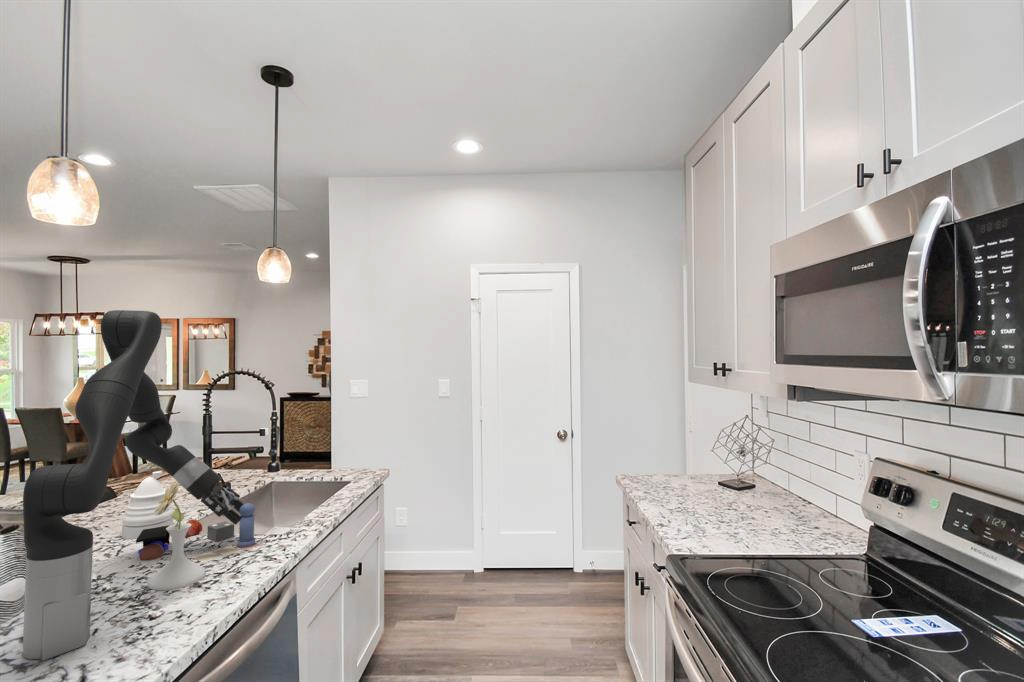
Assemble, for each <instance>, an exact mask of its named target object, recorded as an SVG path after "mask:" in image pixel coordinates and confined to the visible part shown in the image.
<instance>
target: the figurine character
mask: <svg viewBox="0 0 1024 682" xmlns="http://www.w3.org/2000/svg"><path fill="white" fill-rule="evenodd" d="M167 527H169V525H168V526H162V527H156V528H150V529H144V530H142V532H141V533H140V535H139V536H138V538H137V539H135V544H136V543H138V544H139V543H142V548H140V549H138V551H137V553H139V554H138V555H139V559H140V561H142V562H143V561H145V562H146V561H152V560H156V559H159V558H161V557H162V556H163V555H164V552H165V551H166V550H167V549H169V547H170V545H169V544H170V538H171V535H170V533H169V532H168V531H167V530H166V528H167Z"/></svg>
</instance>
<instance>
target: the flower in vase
mask: <svg viewBox="0 0 1024 682" xmlns="http://www.w3.org/2000/svg"><path fill="white" fill-rule="evenodd" d="M179 487H180V484H179V483H178V481H176V482H174V481H173V482H172V483H171V484H170V486H169V487H167V488H165V489H166V490H165V494H164V497H163V498H161V499H160V500H159V502H158V503H161V504H160V505H159V506H158V507H157V509H156V510H155V512H157V511H158V512H157V514H156V516H157V515H158V514H159V515H160V514H162V513H163V512H165V511H166V509H167V508H168V507H169V505H170V504H171V503H173V504H174V506H175V507H176V508H175V510H173V514H172V518H173V520H175V521H176V523H175V524H173V525H171V526H169V527H167V528H166V530H167V531H168V532H169V533H170V538H171V543H172V550H171V551H172V554H171V557H170V560H169V561H168V562H166V564H165V565H163V566H162V567H161V568H159V569H158V570H157V571H156V572H155V573H154V574H153V575H152V576H151V577H150V579H149V580H148V582H147V588H148V589H150V590H153V591H159V592H160V591H161V592H162V591H170V590H172V591H173V590H177V589H180V588H186V587H188V586H191V585H194V584H196V583H198V582H199V581H201V580H202V579H204V578H205V577H206V574H207V572H206V570H205V568H204V567H203V566H202V565H200V564H198V563H197V562H195V561H192V560H190V559H188V558H187V557H186V555H185V550H184V549H185V541H186V540H185V539H186V538H185V536H186V533H187V531H188V529H189V528H190V527H191V524H190V523H186V522H184V523H183V520H184V519H185V516H184V514H183V513H182V512H181V510H180V508H179V505H178V504H177V502H176V501H175V497H176V495H177V493H178V491H179ZM171 505H172V504H171ZM181 522H182V523H181Z"/></svg>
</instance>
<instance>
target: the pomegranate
mask: <svg viewBox="0 0 1024 682" xmlns="http://www.w3.org/2000/svg"><path fill="white" fill-rule="evenodd" d="M185 523H190V524H191V527H190V528H189V529H188V531H187V533H186V536H185V539H188V538H191V537H196V536H198V535H200V533H201V532H202V531H203V525H202V523H201V522H200V521H198V519H190V520H187V522H185Z"/></svg>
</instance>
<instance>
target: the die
mask: <svg viewBox="0 0 1024 682" xmlns="http://www.w3.org/2000/svg"><path fill="white" fill-rule="evenodd" d="M206 531H207V533H206V535H207V539H208V540H210V541H211V542H215V543H218V542H222V541H224V540H227V539H231V538H234V537H235V524H233V523H232V522H227V520H226V521H222V522H219V523H218V522H217V523H214V524H211V525H207V530H206Z"/></svg>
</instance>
